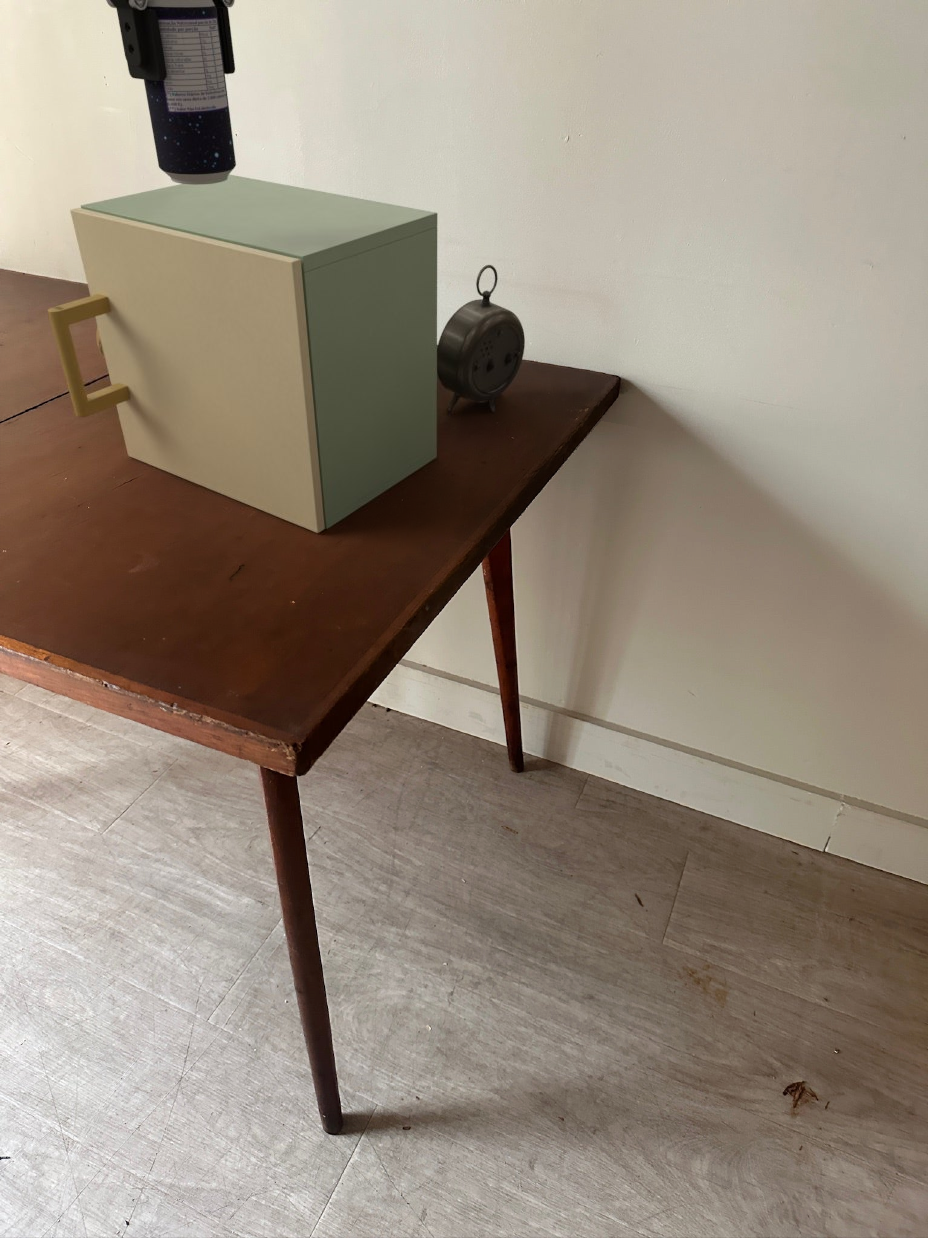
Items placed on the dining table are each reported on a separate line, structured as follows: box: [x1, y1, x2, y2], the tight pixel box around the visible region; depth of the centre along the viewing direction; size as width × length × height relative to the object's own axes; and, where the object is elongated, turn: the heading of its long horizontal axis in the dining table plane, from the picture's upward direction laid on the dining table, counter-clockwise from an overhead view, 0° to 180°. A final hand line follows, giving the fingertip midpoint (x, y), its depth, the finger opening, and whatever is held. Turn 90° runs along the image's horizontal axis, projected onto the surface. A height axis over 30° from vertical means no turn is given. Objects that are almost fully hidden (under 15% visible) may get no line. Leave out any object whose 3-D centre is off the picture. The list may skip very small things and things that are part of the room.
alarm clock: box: [437, 264, 526, 414], centre depth 99 cm, size 11×5×16 cm, turn 134°
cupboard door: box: [47, 207, 326, 534], centre depth 77 cm, size 7×26×24 cm, turn 56°
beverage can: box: [143, 0, 237, 185], centre depth 62 cm, size 6×6×12 cm
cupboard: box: [80, 174, 438, 530], centre depth 85 cm, size 18×26×24 cm
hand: (183, 72), depth 62 cm, fingers closed on beverage can, 5 cm apart
